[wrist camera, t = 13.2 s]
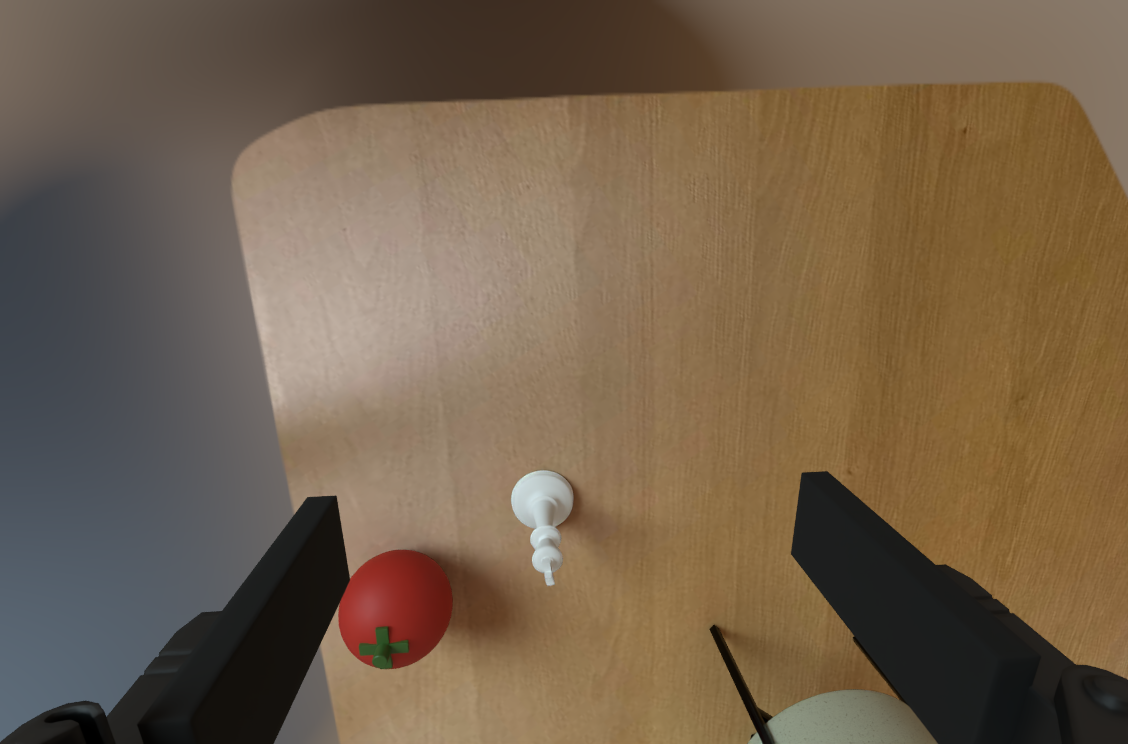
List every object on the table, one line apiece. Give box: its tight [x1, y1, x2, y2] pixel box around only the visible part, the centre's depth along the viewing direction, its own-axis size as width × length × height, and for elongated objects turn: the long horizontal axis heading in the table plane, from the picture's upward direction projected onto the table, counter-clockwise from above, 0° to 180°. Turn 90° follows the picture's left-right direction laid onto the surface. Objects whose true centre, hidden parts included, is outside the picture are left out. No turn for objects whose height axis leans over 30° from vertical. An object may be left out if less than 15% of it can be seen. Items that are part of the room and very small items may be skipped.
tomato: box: [338, 550, 453, 669], centre depth 38 cm, size 8×8×9 cm
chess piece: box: [511, 470, 574, 586], centre depth 37 cm, size 5×5×10 cm
